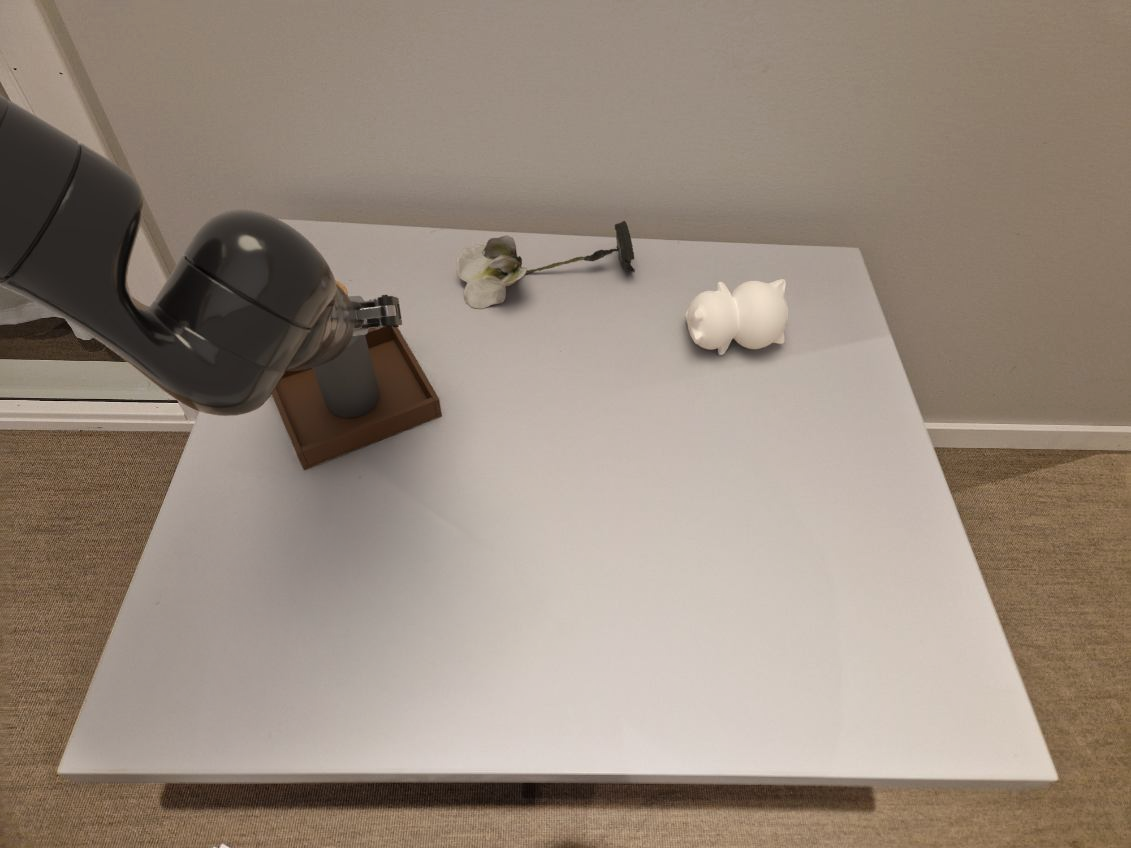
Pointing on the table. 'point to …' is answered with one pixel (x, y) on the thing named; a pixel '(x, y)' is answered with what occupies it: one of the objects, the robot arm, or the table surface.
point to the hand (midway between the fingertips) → (327, 321)
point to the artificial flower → (516, 266)
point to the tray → (396, 411)
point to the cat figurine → (739, 316)
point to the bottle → (349, 379)
